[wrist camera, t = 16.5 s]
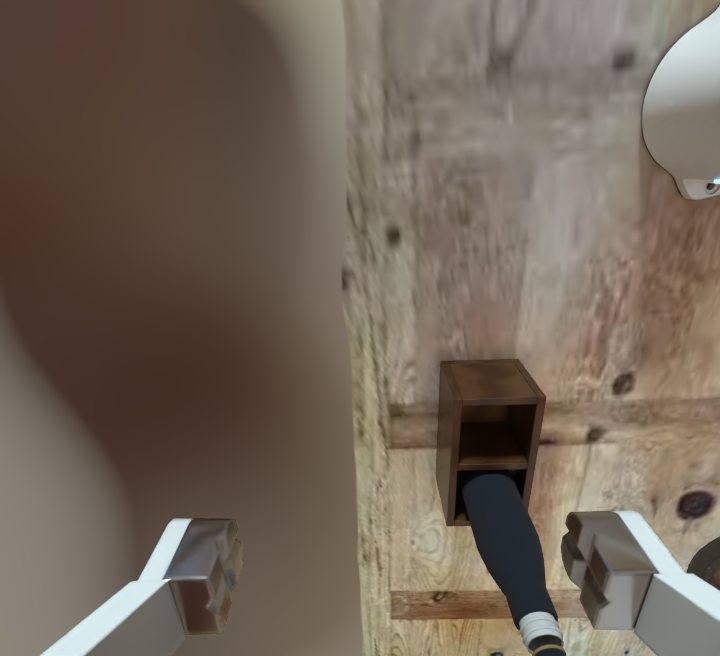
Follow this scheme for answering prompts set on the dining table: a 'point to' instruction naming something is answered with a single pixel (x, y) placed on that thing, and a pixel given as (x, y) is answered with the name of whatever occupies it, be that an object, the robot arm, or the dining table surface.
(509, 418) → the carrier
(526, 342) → the dining table surface
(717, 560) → the tankard
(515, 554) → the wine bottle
